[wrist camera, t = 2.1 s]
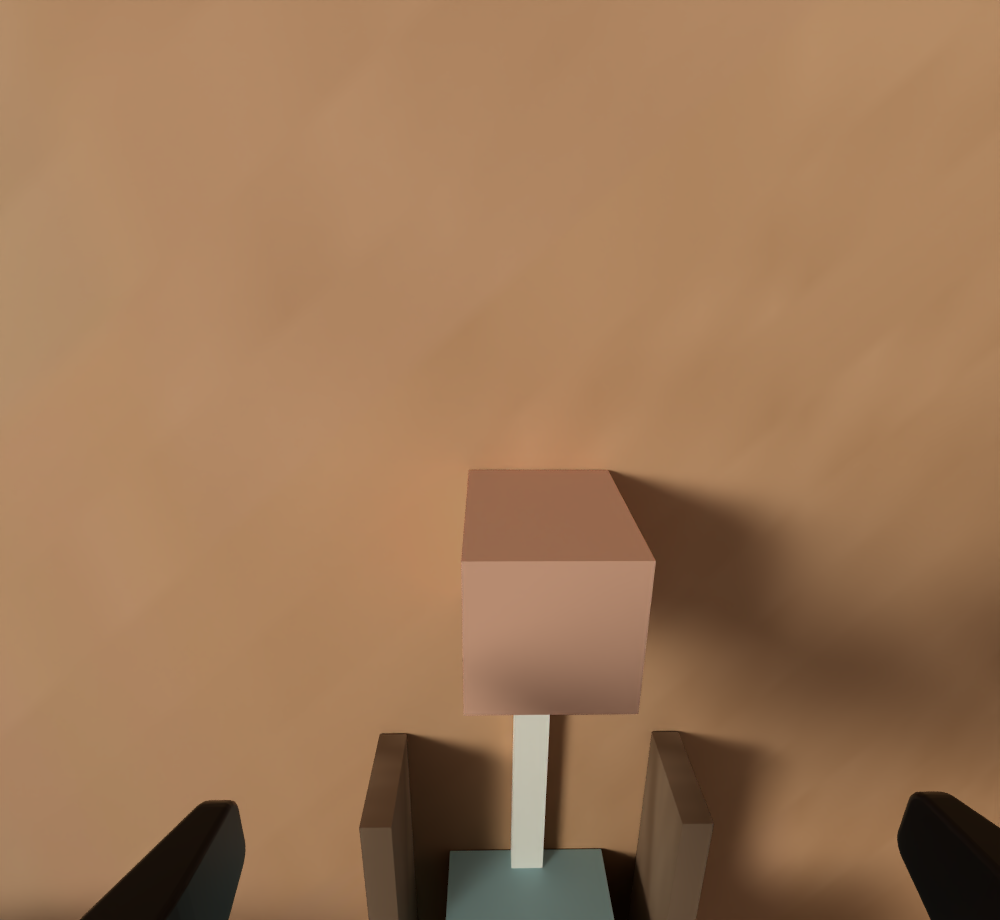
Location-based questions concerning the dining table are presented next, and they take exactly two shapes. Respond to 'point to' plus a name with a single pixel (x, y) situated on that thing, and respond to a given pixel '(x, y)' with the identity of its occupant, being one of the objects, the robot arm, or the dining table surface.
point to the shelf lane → (660, 852)
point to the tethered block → (546, 664)
